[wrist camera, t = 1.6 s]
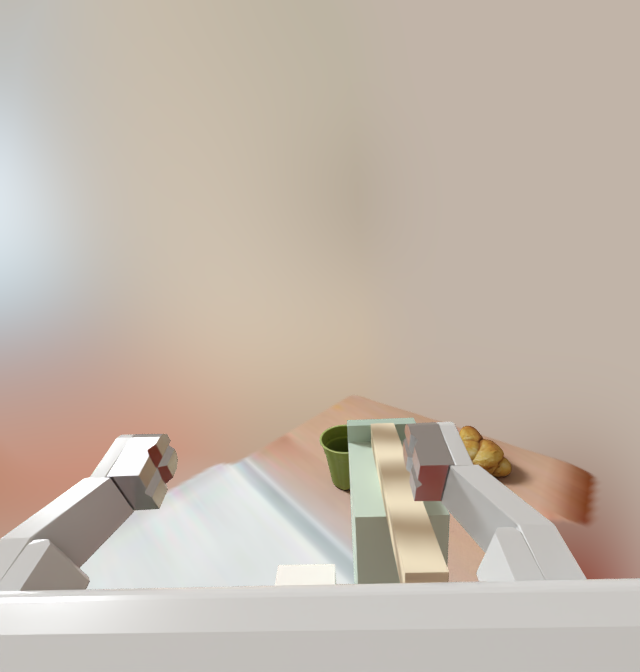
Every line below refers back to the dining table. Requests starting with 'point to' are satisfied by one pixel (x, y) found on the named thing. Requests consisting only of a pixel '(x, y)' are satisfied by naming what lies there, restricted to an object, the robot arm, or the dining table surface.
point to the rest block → (306, 574)
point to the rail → (405, 513)
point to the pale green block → (379, 509)
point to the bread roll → (485, 452)
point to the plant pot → (337, 454)
